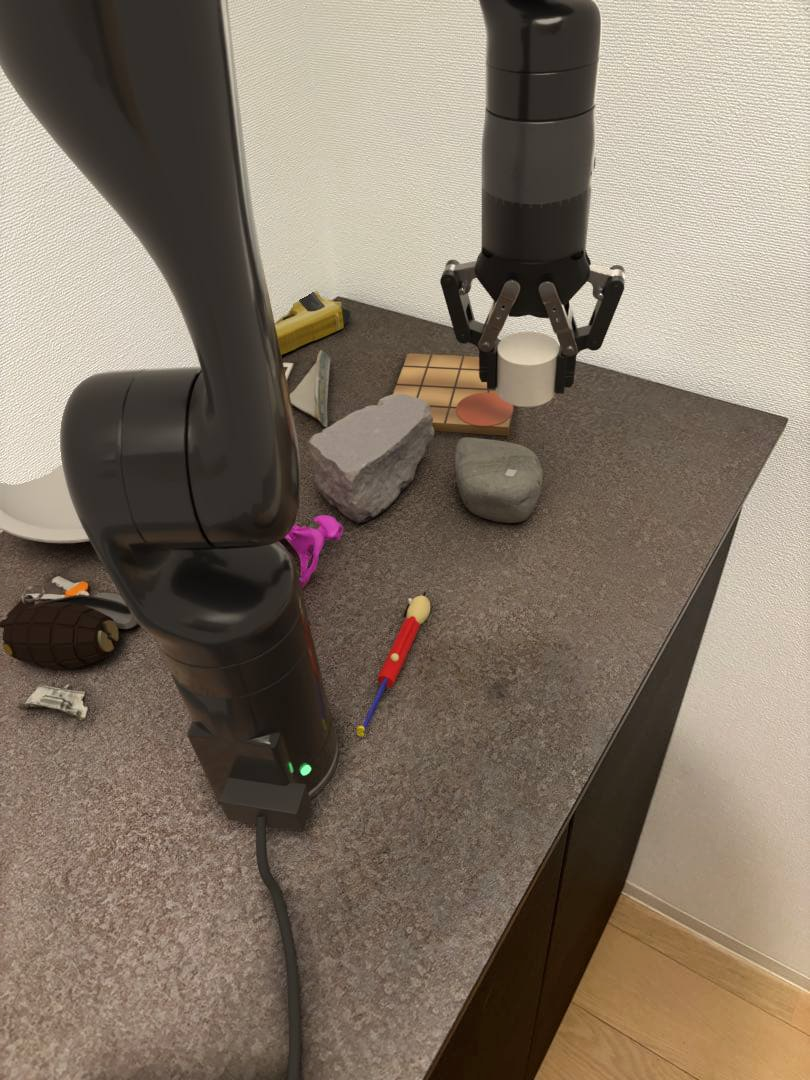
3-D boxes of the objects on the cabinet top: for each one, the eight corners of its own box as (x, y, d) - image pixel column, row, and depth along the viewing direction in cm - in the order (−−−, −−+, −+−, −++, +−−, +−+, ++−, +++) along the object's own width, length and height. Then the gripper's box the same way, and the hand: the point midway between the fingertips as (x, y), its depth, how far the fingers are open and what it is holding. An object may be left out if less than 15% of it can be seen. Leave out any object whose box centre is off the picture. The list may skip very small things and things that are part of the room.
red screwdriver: (347, 736, 61) (412, 598, 71) (373, 745, 60) (435, 605, 70) (347, 718, 59) (414, 579, 69) (374, 728, 58) (438, 586, 69)
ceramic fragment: (327, 429, 90) (322, 400, 87) (282, 432, 90) (276, 403, 87) (334, 365, 100) (330, 338, 98) (293, 368, 100) (288, 340, 98)
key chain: (122, 623, 68) (127, 636, 69) (151, 598, 71) (156, 611, 71) (19, 594, 73) (25, 606, 74) (50, 571, 76) (55, 583, 77)
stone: (548, 462, 83) (548, 418, 74) (538, 542, 80) (537, 508, 71) (464, 455, 85) (453, 411, 76) (451, 533, 82) (439, 498, 73)
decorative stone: (301, 519, 80) (391, 537, 76) (287, 464, 75) (383, 481, 72) (360, 435, 89) (443, 448, 86) (351, 383, 85) (438, 394, 81)
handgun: (309, 295, 114) (360, 322, 107) (193, 341, 105) (240, 374, 98) (307, 279, 112) (359, 305, 105) (189, 324, 104) (236, 356, 97)
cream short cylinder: (554, 409, 64) (557, 366, 61) (492, 405, 65) (493, 363, 62) (558, 374, 68) (561, 333, 65) (500, 371, 68) (500, 330, 66)
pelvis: (267, 525, 79) (253, 474, 74) (350, 550, 76) (342, 498, 71) (195, 610, 72) (176, 558, 67) (285, 642, 68) (271, 590, 64)
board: (509, 437, 87) (510, 427, 86) (384, 428, 89) (383, 419, 89) (522, 367, 97) (522, 358, 96) (408, 361, 99) (407, 352, 98)
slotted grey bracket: (6, 701, 63) (23, 667, 65) (21, 713, 65) (37, 680, 67) (74, 710, 62) (89, 675, 63) (87, 721, 64) (101, 688, 65)
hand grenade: (119, 684, 66) (4, 679, 68) (152, 615, 70) (43, 613, 73) (91, 645, 62) (-30, 641, 64) (127, 575, 67) (13, 573, 69)
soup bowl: (204, 398, 94) (194, 353, 89) (240, 552, 80) (231, 509, 75) (-12, 437, 89) (-35, 391, 84) (-14, 608, 75) (-42, 566, 69)
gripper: (423, 197, 53) (433, 406, 65) (645, 200, 50) (613, 418, 62) (442, 155, 58) (449, 357, 70) (645, 156, 55) (615, 366, 67)
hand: (526, 385), depth 66 cm, fingers closed on cream short cylinder, 5 cm apart
